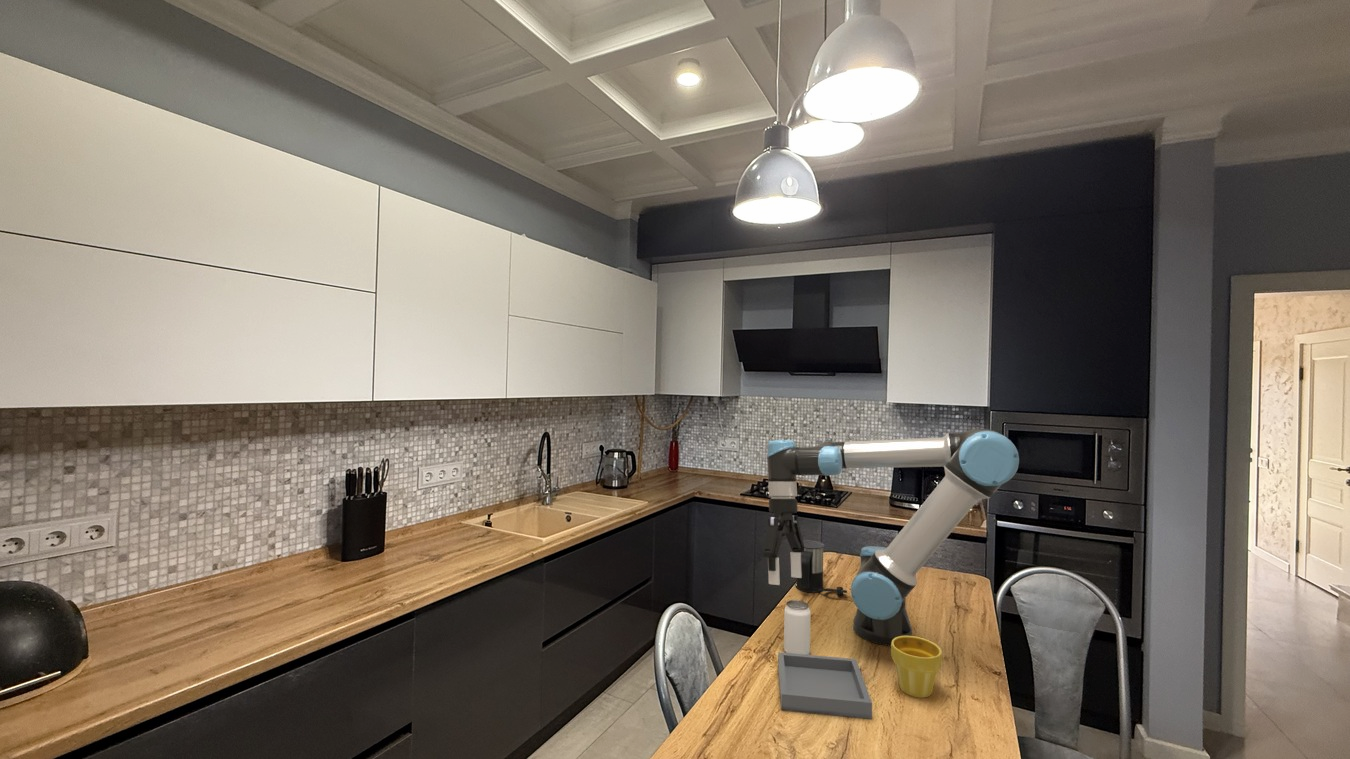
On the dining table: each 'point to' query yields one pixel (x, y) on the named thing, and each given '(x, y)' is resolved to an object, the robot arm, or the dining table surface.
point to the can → (797, 627)
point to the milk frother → (813, 569)
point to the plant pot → (916, 664)
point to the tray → (823, 686)
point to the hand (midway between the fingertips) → (785, 580)
